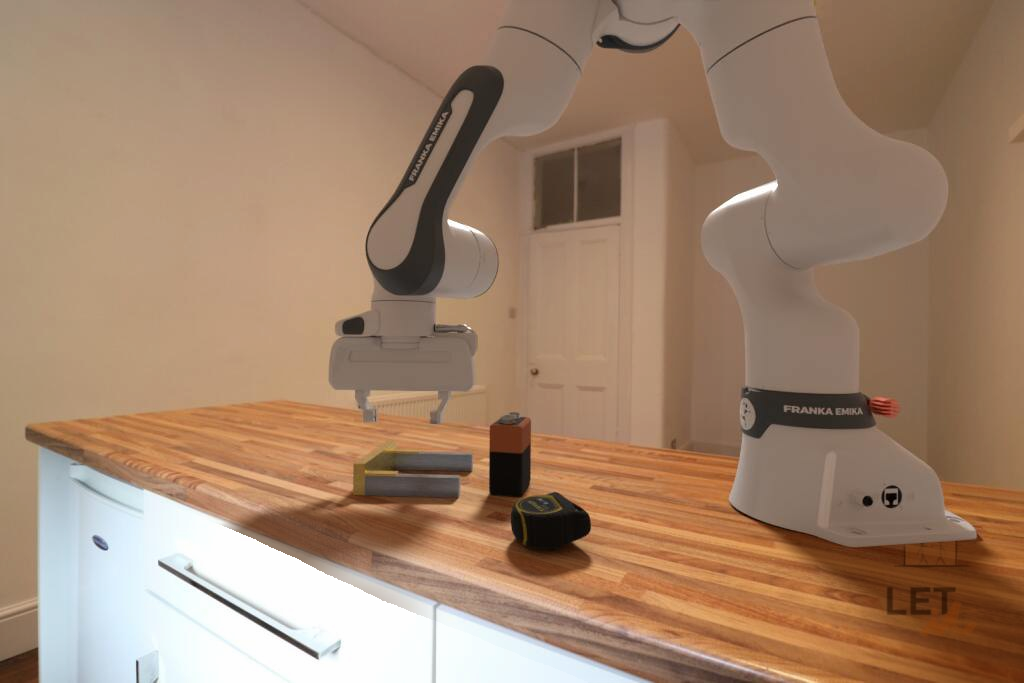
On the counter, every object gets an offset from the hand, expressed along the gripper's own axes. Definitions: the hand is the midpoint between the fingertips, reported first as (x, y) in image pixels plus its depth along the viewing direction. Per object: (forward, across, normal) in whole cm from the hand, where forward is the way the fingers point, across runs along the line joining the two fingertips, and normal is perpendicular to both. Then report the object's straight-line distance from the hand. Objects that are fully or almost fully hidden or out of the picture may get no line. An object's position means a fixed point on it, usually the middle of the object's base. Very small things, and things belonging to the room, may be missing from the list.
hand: (403, 422), depth 63 cm
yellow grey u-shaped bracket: (+8, -3, 0) cm, 9 cm away
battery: (+8, -15, +2) cm, 18 cm away
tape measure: (+8, -23, +18) cm, 30 cm away
